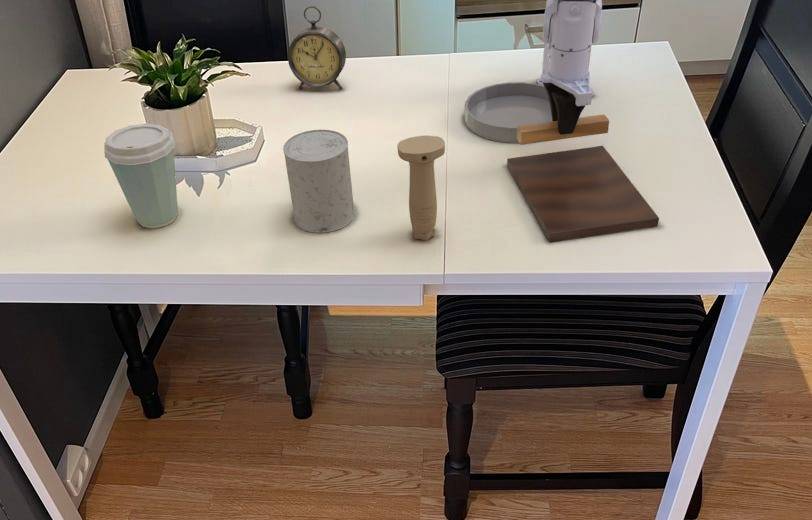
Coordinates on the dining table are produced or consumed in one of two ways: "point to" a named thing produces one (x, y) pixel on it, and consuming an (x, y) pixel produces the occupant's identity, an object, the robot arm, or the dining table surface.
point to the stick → (551, 132)
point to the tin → (506, 109)
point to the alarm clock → (316, 55)
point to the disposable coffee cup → (145, 171)
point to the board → (580, 194)
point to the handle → (422, 181)
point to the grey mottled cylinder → (319, 180)
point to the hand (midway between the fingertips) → (563, 128)
